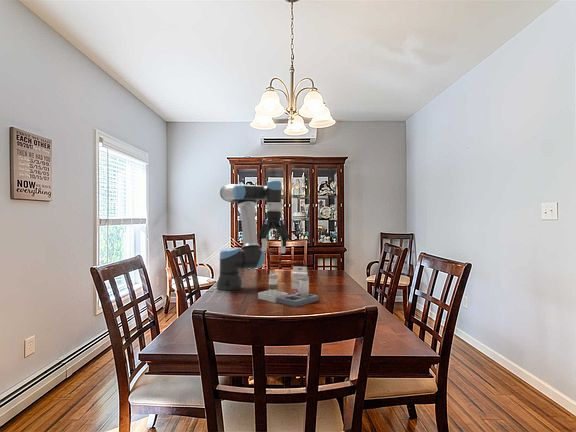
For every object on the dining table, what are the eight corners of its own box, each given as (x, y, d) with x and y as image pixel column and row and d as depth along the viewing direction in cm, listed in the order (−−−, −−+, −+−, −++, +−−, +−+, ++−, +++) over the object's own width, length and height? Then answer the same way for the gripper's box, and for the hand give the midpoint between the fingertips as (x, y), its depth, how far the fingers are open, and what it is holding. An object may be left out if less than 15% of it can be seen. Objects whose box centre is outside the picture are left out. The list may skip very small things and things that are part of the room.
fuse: (297, 300, 185) (297, 276, 185) (303, 298, 188) (303, 275, 188) (304, 301, 182) (305, 277, 182) (310, 300, 185) (310, 276, 185)
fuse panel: (277, 302, 179) (277, 297, 179) (300, 296, 192) (300, 291, 192) (295, 307, 171) (295, 301, 171) (318, 300, 184) (318, 295, 184)
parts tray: (257, 298, 187) (258, 292, 187) (271, 295, 194) (271, 289, 194) (274, 302, 179) (274, 296, 179) (288, 299, 186) (288, 293, 186)
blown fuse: (266, 297, 186) (266, 274, 186) (273, 296, 190) (273, 273, 190) (273, 299, 183) (273, 275, 183) (279, 297, 187) (279, 274, 187)
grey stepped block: (291, 294, 199) (291, 267, 199) (292, 292, 204) (292, 266, 204) (307, 294, 198) (307, 267, 198) (307, 292, 203) (307, 266, 203)
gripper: (252, 210, 192) (251, 250, 192) (286, 210, 175) (286, 254, 176) (262, 210, 198) (261, 249, 198) (296, 211, 181) (296, 253, 181)
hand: (273, 252), depth 187 cm, fingers open, 13 cm apart
